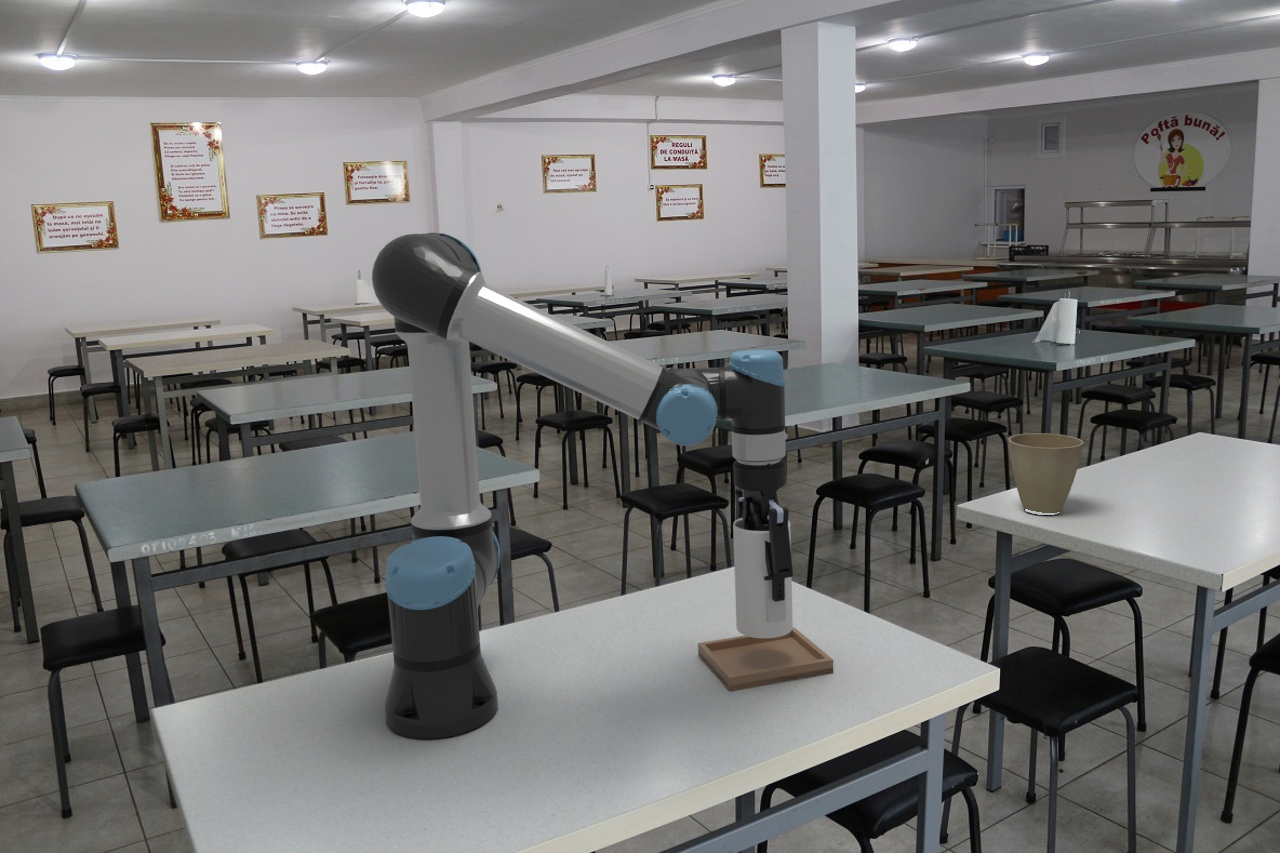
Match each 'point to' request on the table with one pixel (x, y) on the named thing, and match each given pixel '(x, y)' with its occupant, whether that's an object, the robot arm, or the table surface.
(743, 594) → the cup
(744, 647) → the tray
